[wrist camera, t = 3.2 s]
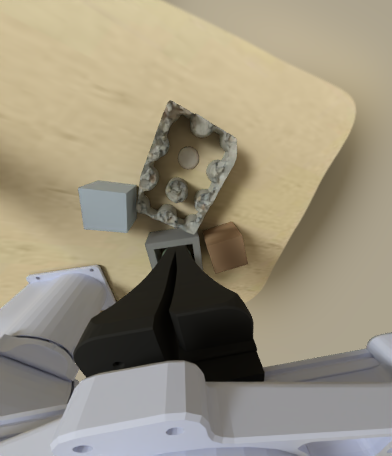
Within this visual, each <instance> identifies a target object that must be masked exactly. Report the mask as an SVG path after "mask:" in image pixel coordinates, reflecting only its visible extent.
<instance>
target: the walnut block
mask: <svg viewBox="0 0 392 456" xmlns="http://www.w3.org/2000/svg"><path fill="white" fill-rule="evenodd" d="M203 235H204V239H205V242H206V246H207V249H208V252H209V255H210V258H211V262H212V265H213V268H214V271H215V274H216V273H219V272H223V271H226V270H229V269H233V268H236V267H240V266H243V265H246V264H248V262H247V257H246V252H245V247H244V242H243V237H242V235H241V233H240V232H239V230H238V229H237V228H236V226H235V225H234V224H233V222H229V223H226V224H222V225H219V226H216V227H213V228H209V229H206V230H203Z"/></svg>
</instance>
